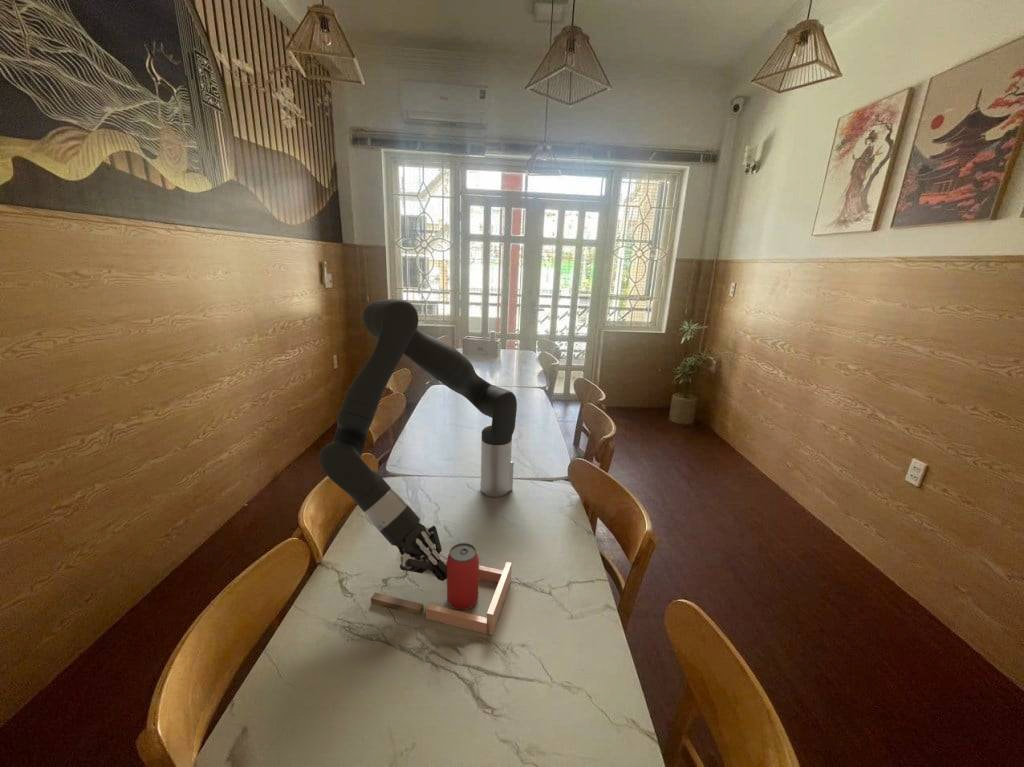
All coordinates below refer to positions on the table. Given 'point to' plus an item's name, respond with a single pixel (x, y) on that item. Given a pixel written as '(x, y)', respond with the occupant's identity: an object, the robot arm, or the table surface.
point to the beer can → (462, 576)
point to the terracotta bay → (475, 621)
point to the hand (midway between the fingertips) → (446, 577)
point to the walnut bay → (398, 602)
